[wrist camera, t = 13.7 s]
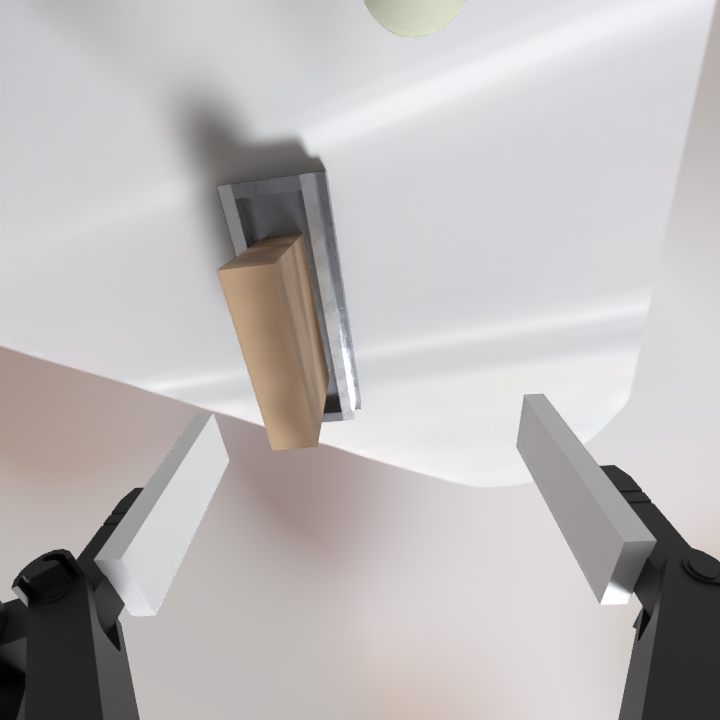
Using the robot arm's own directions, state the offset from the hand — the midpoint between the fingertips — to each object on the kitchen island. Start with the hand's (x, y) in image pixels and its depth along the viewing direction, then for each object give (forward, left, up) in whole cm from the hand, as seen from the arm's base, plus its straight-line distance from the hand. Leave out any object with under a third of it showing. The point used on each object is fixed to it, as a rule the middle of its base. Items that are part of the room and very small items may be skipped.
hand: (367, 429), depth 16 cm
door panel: (-8, -3, -24) cm, 25 cm away
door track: (-8, -3, -25) cm, 27 cm away
